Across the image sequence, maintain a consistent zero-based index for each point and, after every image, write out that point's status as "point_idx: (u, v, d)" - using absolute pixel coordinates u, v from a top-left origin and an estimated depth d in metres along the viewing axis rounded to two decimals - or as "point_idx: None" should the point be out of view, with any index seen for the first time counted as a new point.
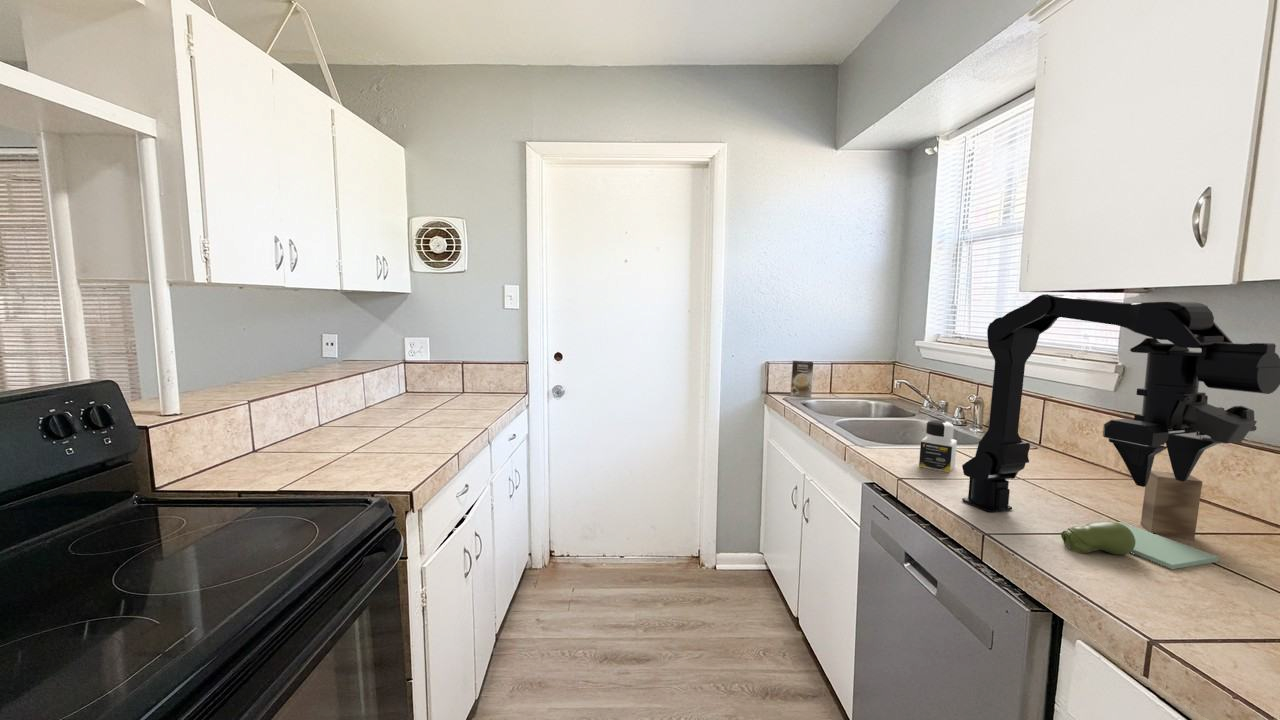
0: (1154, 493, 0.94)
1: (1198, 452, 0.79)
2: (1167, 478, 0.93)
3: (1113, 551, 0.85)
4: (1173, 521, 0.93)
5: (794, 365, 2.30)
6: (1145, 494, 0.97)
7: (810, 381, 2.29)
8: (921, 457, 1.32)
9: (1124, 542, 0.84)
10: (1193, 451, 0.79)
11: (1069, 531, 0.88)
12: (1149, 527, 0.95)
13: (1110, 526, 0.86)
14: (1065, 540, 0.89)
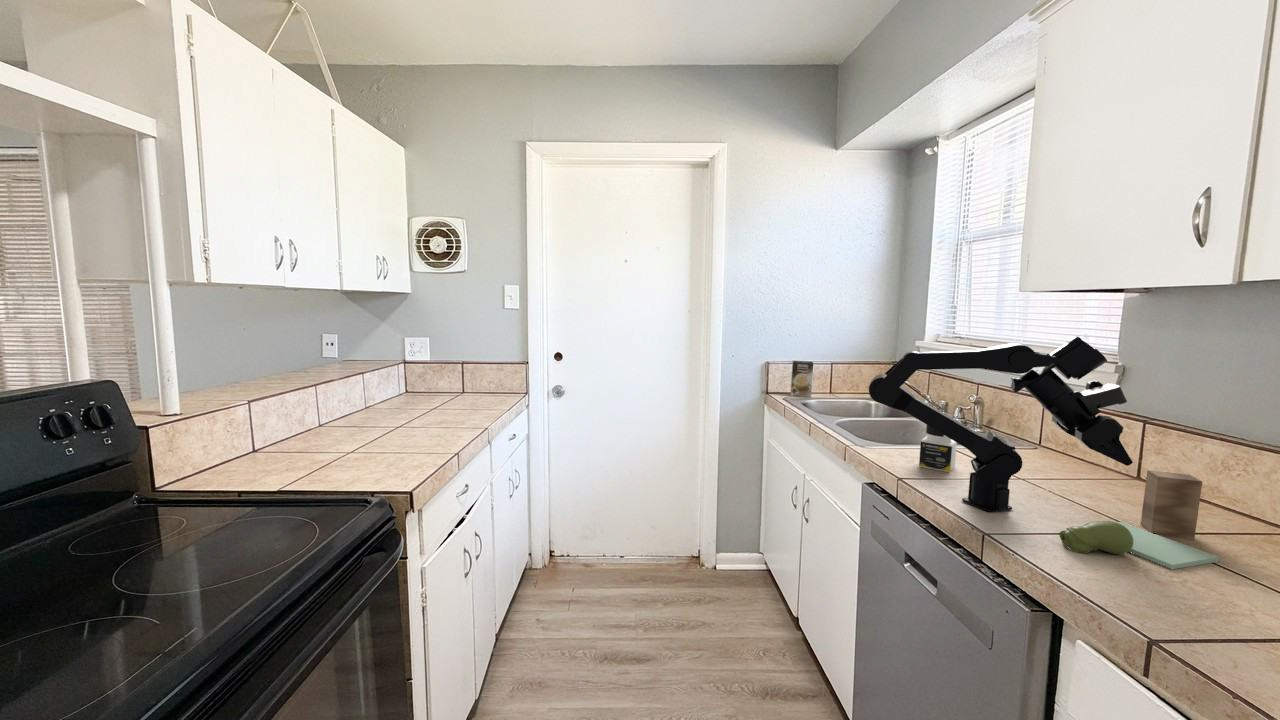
0: (1154, 493, 0.94)
1: None
2: (1167, 478, 0.93)
3: (1111, 550, 0.85)
4: (1173, 521, 0.93)
5: (794, 365, 2.30)
6: (1145, 494, 0.97)
7: (810, 381, 2.29)
8: (921, 457, 1.32)
9: (1123, 541, 0.85)
10: None
11: (1067, 531, 0.89)
12: (1149, 527, 0.95)
13: (1108, 526, 0.86)
14: (1063, 540, 0.89)
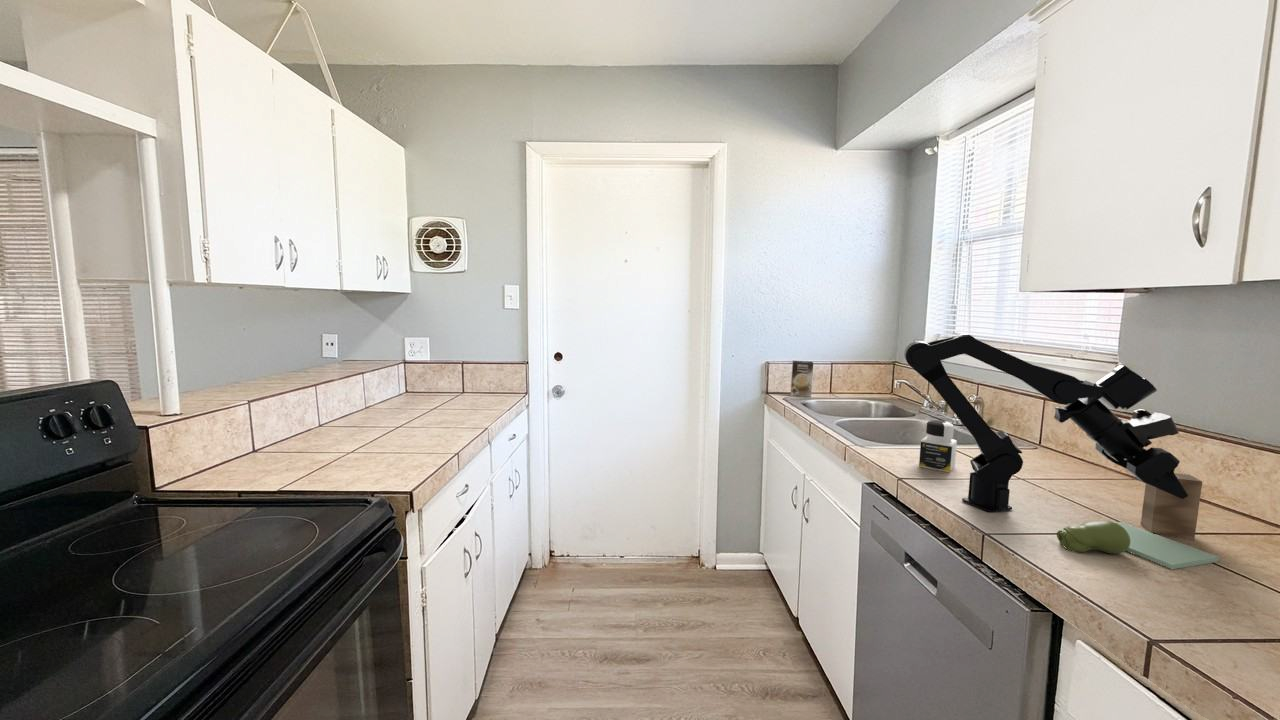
0: (1154, 493, 0.94)
1: None
2: None
3: (1108, 550, 0.85)
4: (1173, 521, 0.93)
5: (794, 365, 2.30)
6: (1145, 494, 0.97)
7: (810, 381, 2.29)
8: (921, 457, 1.32)
9: (1119, 541, 0.85)
10: None
11: (1065, 531, 0.89)
12: (1149, 527, 0.95)
13: (1105, 526, 0.86)
14: (1061, 539, 0.90)
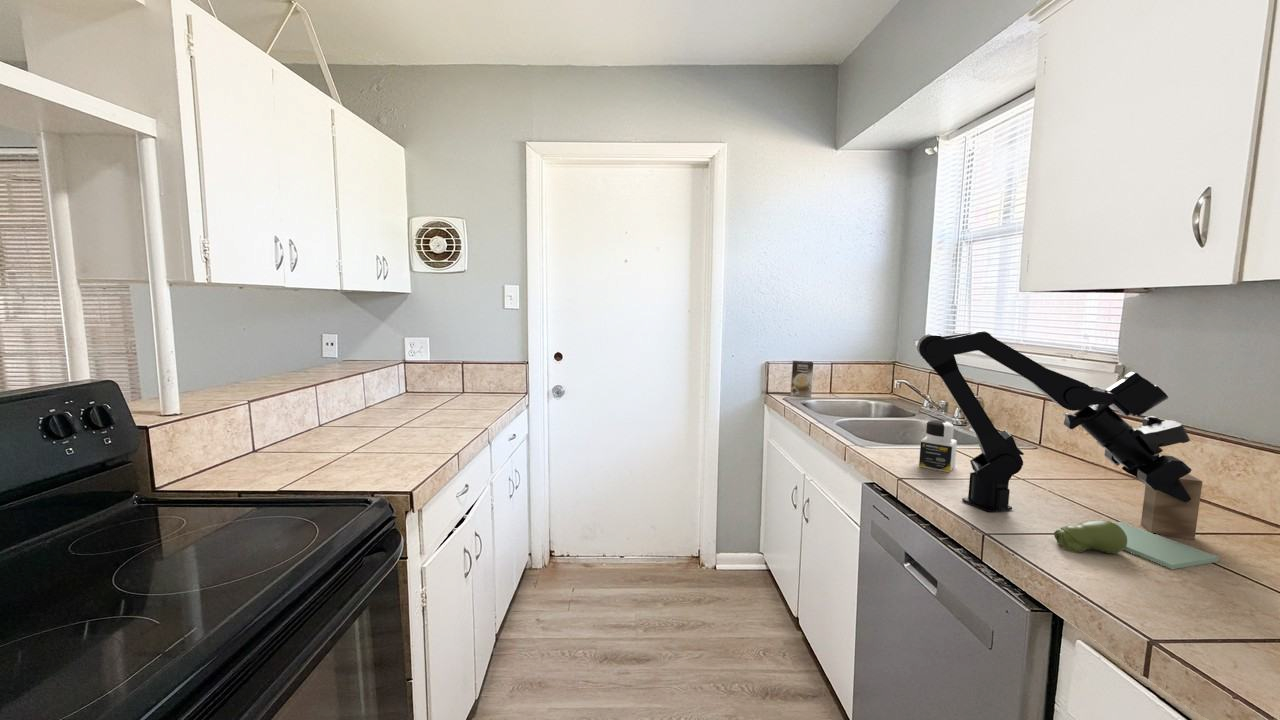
0: (1154, 493, 0.94)
1: None
2: None
3: (1106, 549, 0.86)
4: (1174, 520, 0.93)
5: (794, 365, 2.30)
6: (1145, 494, 0.97)
7: (810, 381, 2.29)
8: (921, 457, 1.32)
9: (1117, 541, 0.85)
10: None
11: (1062, 530, 0.89)
12: (1150, 527, 0.95)
13: (1102, 525, 0.86)
14: (1058, 539, 0.90)
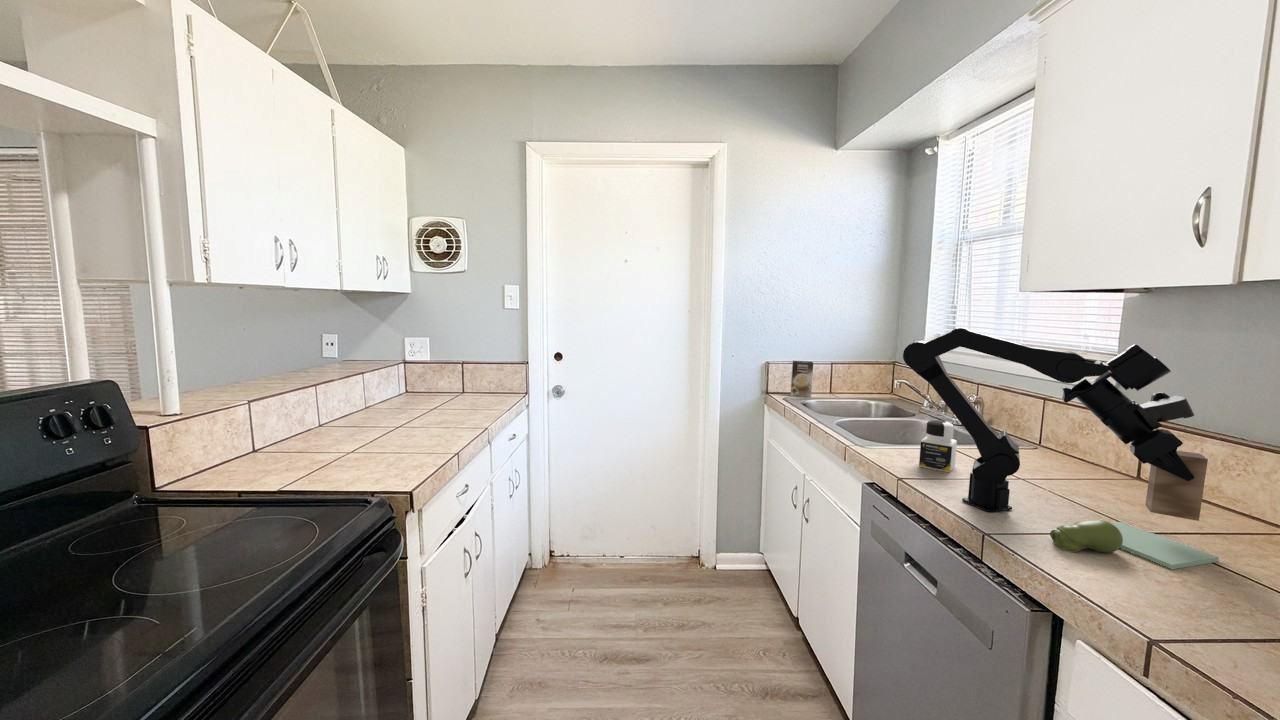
0: (1155, 471, 0.90)
1: None
2: None
3: (1101, 549, 0.86)
4: (1176, 500, 0.89)
5: (794, 365, 2.30)
6: (1150, 473, 0.93)
7: (810, 381, 2.29)
8: (921, 457, 1.32)
9: (1112, 540, 0.85)
10: None
11: (1058, 530, 0.89)
12: (1150, 506, 0.91)
13: (1098, 525, 0.87)
14: (1054, 539, 0.90)
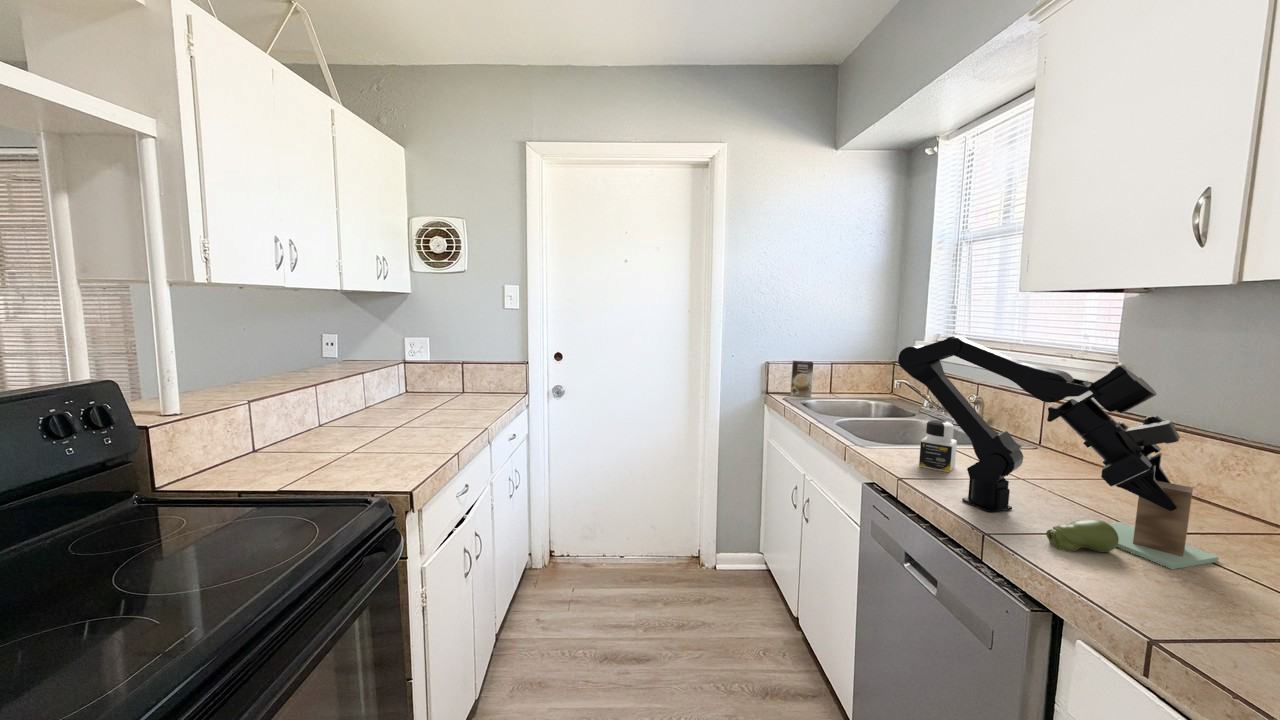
0: (1138, 501, 0.88)
1: (1160, 469, 0.90)
2: None
3: (1097, 548, 0.86)
4: (1158, 533, 0.86)
5: (794, 365, 2.30)
6: None
7: (810, 381, 2.29)
8: (921, 457, 1.32)
9: (1108, 539, 0.85)
10: (1157, 471, 0.90)
11: (1054, 530, 0.89)
12: None
13: (1094, 524, 0.87)
14: (1050, 539, 0.90)
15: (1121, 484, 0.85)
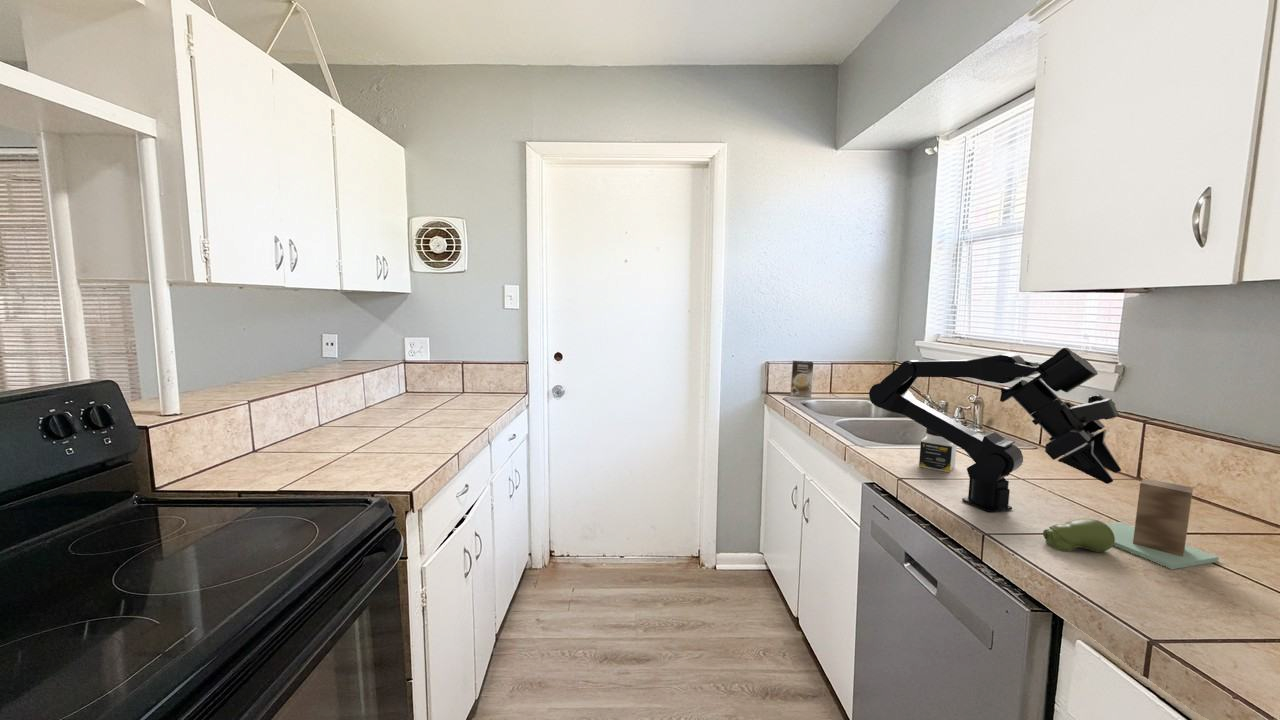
0: (1138, 501, 0.88)
1: (1104, 444, 0.96)
2: (1150, 486, 0.86)
3: (1094, 548, 0.86)
4: (1158, 533, 0.86)
5: (794, 365, 2.30)
6: None
7: (810, 381, 2.29)
8: (921, 457, 1.32)
9: (1104, 539, 0.85)
10: (1101, 446, 0.96)
11: (1051, 529, 0.89)
12: None
13: (1090, 524, 0.87)
14: (1047, 538, 0.90)
15: (1062, 459, 0.90)
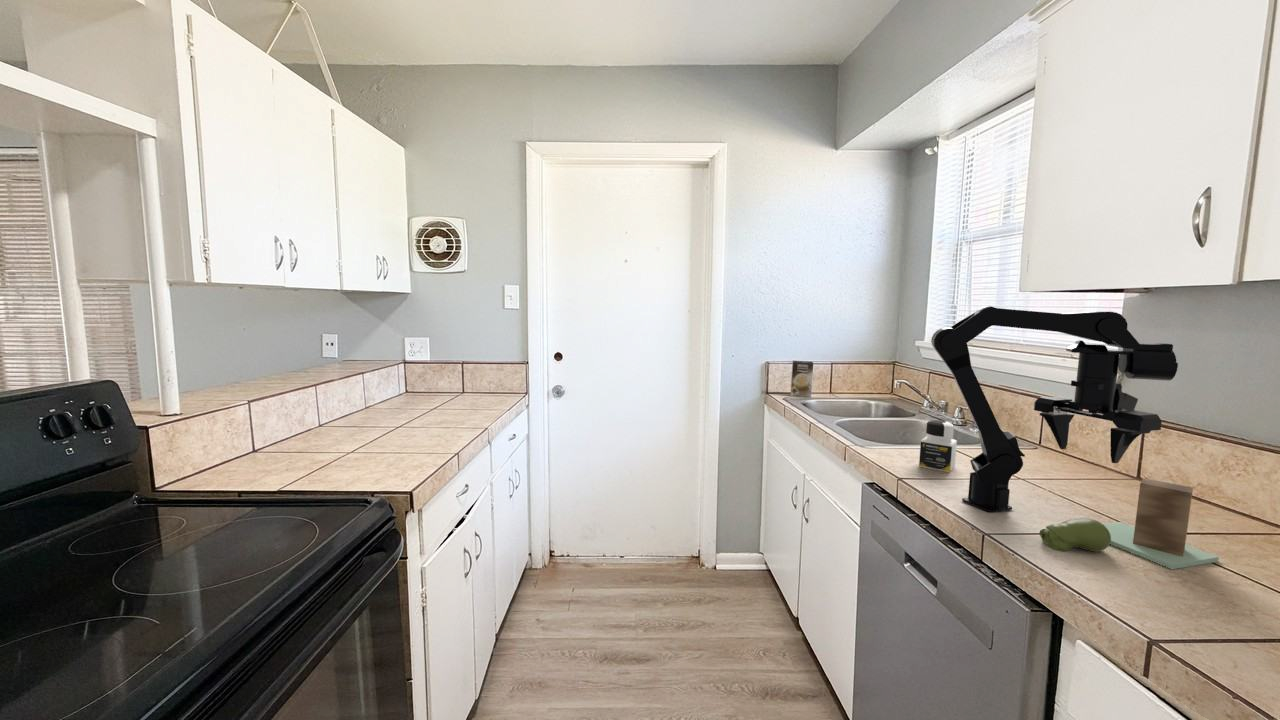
0: (1138, 501, 0.88)
1: None
2: (1150, 486, 0.86)
3: (1090, 548, 0.86)
4: (1158, 533, 0.86)
5: (794, 365, 2.30)
6: None
7: (810, 381, 2.29)
8: (921, 457, 1.32)
9: (1101, 539, 0.85)
10: (1066, 425, 1.04)
11: (1047, 529, 0.89)
12: None
13: (1086, 523, 0.87)
14: (1043, 538, 0.90)
15: (1132, 432, 0.90)
